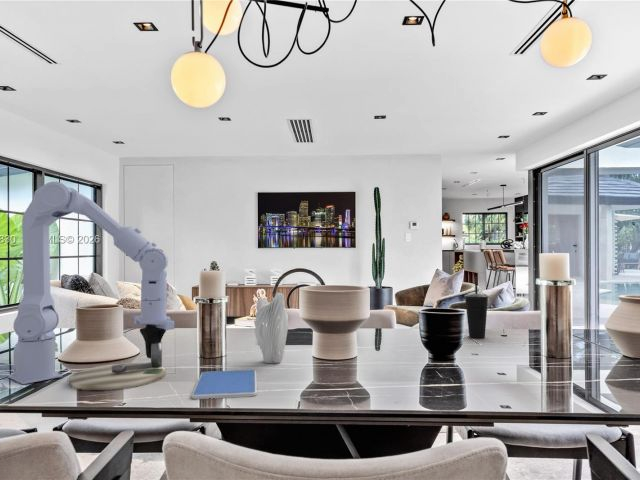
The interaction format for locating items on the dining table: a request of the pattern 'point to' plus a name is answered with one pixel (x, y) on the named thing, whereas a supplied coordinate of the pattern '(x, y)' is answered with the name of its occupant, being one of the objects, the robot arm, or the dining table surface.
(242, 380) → the tablet computer
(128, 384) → the dial board
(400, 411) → the dining table surface
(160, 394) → the dining table surface
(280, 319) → the white ribbed vase
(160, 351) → the lever
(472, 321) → the drinking cup
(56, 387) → the dining table surface
